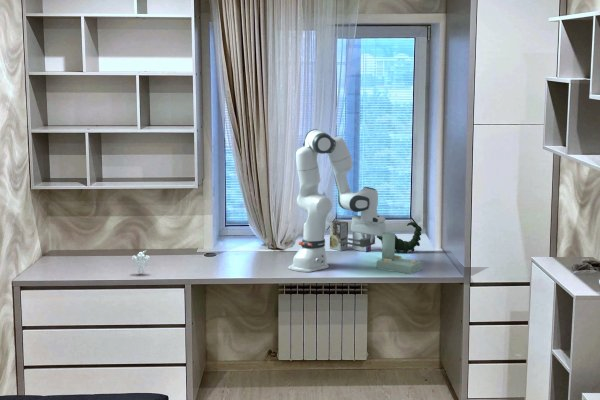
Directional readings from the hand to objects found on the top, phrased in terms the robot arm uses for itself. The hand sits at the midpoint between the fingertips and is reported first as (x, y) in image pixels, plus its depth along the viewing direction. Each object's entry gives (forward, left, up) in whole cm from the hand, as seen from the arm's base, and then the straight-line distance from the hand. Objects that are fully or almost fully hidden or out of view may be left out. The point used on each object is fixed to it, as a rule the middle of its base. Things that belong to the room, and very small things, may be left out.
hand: (367, 242), depth 417 cm
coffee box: (+16, +28, -11) cm, 34 cm away
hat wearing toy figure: (-91, +78, -11) cm, 121 cm away
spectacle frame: (0, +7, -2) cm, 7 cm away
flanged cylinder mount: (-3, -22, -11) cm, 24 cm away
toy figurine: (+30, -3, -11) cm, 32 cm away
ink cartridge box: (+22, +16, -11) cm, 29 cm away
